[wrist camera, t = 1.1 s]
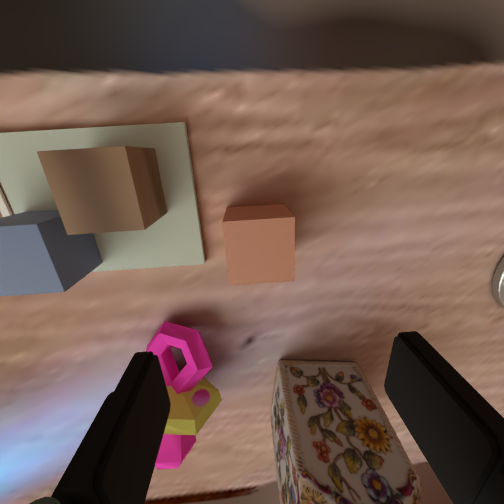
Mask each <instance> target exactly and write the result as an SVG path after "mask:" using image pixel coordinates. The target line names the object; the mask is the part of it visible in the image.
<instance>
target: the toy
mask: <svg viewBox="0 0 504 504" xmlns="http://www.w3.org/2000/svg"><path fill="white" fill-rule="evenodd" d="M172 346H174V347H177V348H180V349H181V350H182V352H183V355H184V357H185V360H186V362H187V364H186V365H185V367H184V368H183V369H182V370H181V371H180V370H179V369H178V366H177V364H176V361H175V359H174V357H173V354H172V352H171V349H170V348H171V347H172ZM150 351H152V352H153V354H154V355H157V356H158V358H159V362H160V366H161V369H162V373H163V376H164V380H165V384H166V387H167V391H168V395H169V398H170V403H171V406H170V413H169V416H168V420H167V424H166V427H165V431H164V434H163V438H162V441H161V445H160V449H159V452H158V456H157V459H156V463H155V466H156V467H157V469H169V468H178V467H179V466H180V464H181V463H182V461H183V460H184V459H185V457H186V456H187V454H188V453H189V452H190V450H191V448H192V447H193V445H194V443H195V442H196V436H195V435H197V433H198V432H199V431H200V429H201V428H202V426H203V425H204V424H205V422H206V421H207V420H208V418H209V417H210V416H211V414H212V413H213V411H214V410H215V409H216V407H217V406H218V405H219V403H220V402H221V401H222V399H221V396H220V393H219V390H218V389H216V388H215V387H214V386H213V385H212V384H211V383H210V382H208V381H207V380H206V379H205V378H204V376H205V375H206V374H207V373H208V371H209V370H210V369H211V368H212V367H213V366H212V362H211V359H210V356H209V354H208V351H207V349H206V346H205V344H204V342H203V339H202V337H201V334H200V332H199V331H198V330H195V329H192V328H188V327H184V326H181V325H177V324H173V323H170V322H166V321H164V322H163V324H162V325H161V327H160V328H159V330H158V331H157V333H156V334H155V335H154V337H153V338H152V340H151V341H150V343H149V344H148V345H147V350H146V352H150Z"/></svg>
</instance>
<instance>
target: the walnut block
mask: <svg viewBox="0 0 504 504" xmlns="http://www.w3.org/2000/svg"><path fill="white" fill-rule="evenodd" d="M37 154H38V157H39V159H40V162H41V165H42V168H43V170H44V173H45V176H46V178H47V181H48V184H49V186H50V189H51V192H52V194H53V197H54V200H55V203H56V205H57V208H58V211H59V213H60V216H61V219H62V221H63V224H64V227H65V230H66V232H67V235H74V234H89V233H105V232H120V231H136V230H145V229H147V228H148V227H149V226H151V225H152V224H153V223H155V222H156V221H157V220H159V219H160V218H161V217H163V216H164V215H165V214H166V213H167V208H166V203H165V198H164V193H163V187H162V182H161V177H160V172H159V167H158V162H157V157H156V152H155V148H143V147H131V146H116V147H100V148H83V149H67V150H50V151H37Z"/></svg>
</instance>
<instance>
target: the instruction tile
mask: <svg viewBox="0 0 504 504" xmlns="http://www.w3.org/2000/svg"><path fill="white" fill-rule="evenodd" d="M10 215H13V214H12V212H11V210H10V207H9V205H8V203H7V201H6V198H5V196H4V194H3V192H2V190H1V187H0V218H2V217H6V216H10Z"/></svg>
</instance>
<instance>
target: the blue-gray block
mask: <svg viewBox="0 0 504 504" xmlns="http://www.w3.org/2000/svg"><path fill="white" fill-rule="evenodd" d="M102 263H103V261H102V258H101V255H100V252H99V249H98V246H97V243H96V240H95V237H94V234H93V233H89V234H74V235H67V232H66V230H65V227H64V224H63V221H62V219H61V216H60V213H59V211H58V210H46V211H31V212H22V213H18V214H14V215H10V216H6V217H2V218H0V296H11V295H26V294H41V293H55V292H65V291H66V290H68V289H69V288H70V287H72V286H73V285H74V284H76V283H77V282H78V281H79V280H81V279H82V278H83V277H85V276H86V275H87V274H89V273H90V272H91V271H93V270H94V269H95V268H96V267H98V266H99V265H100V264H102Z"/></svg>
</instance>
